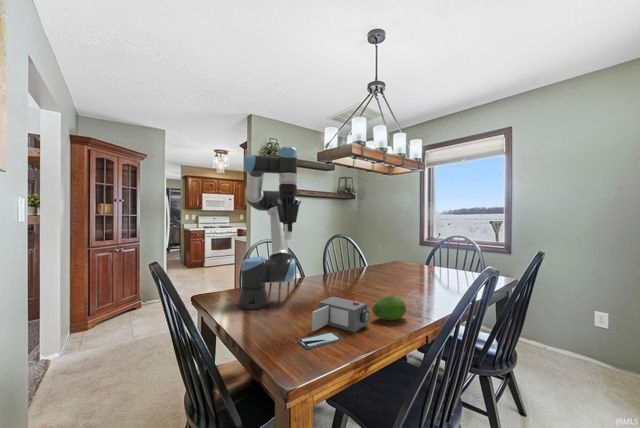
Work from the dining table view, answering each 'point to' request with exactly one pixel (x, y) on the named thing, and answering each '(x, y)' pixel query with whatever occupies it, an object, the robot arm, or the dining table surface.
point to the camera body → (346, 313)
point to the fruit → (389, 308)
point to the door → (320, 318)
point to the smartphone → (319, 340)
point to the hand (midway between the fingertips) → (287, 239)
